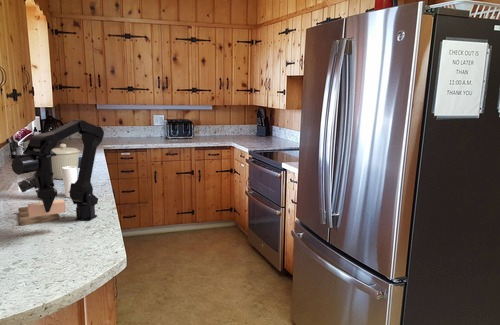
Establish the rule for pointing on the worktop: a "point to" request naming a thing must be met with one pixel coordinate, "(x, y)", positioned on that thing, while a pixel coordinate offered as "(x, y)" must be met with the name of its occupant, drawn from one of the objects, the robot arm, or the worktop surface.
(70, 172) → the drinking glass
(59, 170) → the canister
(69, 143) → the worktop surface
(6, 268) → the worktop surface
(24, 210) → the brown ridged slab
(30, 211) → the peach long block
